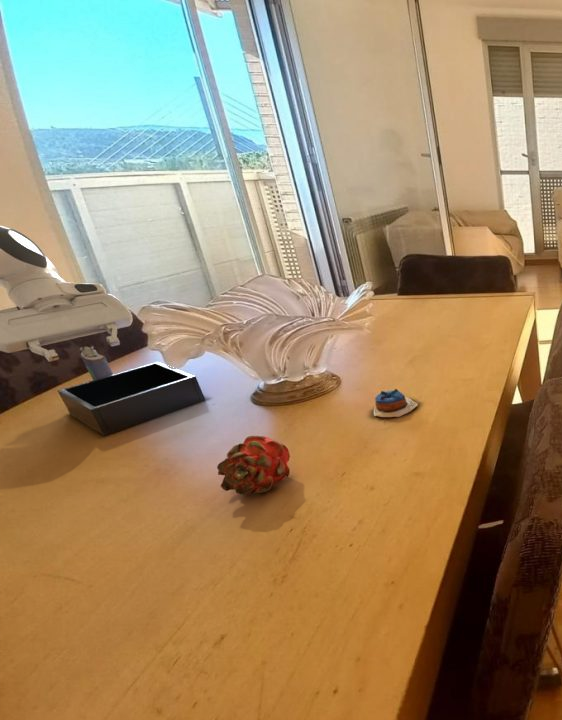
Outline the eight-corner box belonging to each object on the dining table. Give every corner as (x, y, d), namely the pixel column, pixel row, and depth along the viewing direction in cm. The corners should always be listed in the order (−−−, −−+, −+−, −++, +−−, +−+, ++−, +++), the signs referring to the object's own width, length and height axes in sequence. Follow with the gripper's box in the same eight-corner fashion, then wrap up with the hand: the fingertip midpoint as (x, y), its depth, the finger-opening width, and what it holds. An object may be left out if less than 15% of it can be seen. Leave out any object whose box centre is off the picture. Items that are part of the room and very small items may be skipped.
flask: (125, 394, 102) (101, 348, 98) (106, 399, 100) (81, 353, 96) (112, 385, 107) (90, 340, 103) (94, 390, 105) (70, 345, 101)
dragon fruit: (263, 518, 67) (262, 487, 76) (308, 467, 70) (301, 444, 79) (200, 490, 62) (206, 461, 72) (251, 437, 65) (250, 416, 74)
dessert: (361, 413, 90) (370, 383, 91) (384, 417, 96) (393, 388, 97) (396, 421, 88) (405, 390, 89) (418, 424, 94) (426, 395, 95)
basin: (104, 436, 86) (90, 409, 84) (70, 415, 94) (57, 390, 92) (205, 399, 99) (195, 376, 97) (168, 383, 107) (158, 361, 105)
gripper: (-32, 305, 91) (9, 360, 91) (110, 282, 108) (146, 328, 107) (-25, 324, 95) (15, 377, 94) (111, 299, 111) (146, 344, 111)
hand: (86, 351), depth 101 cm, fingers open, 8 cm apart
